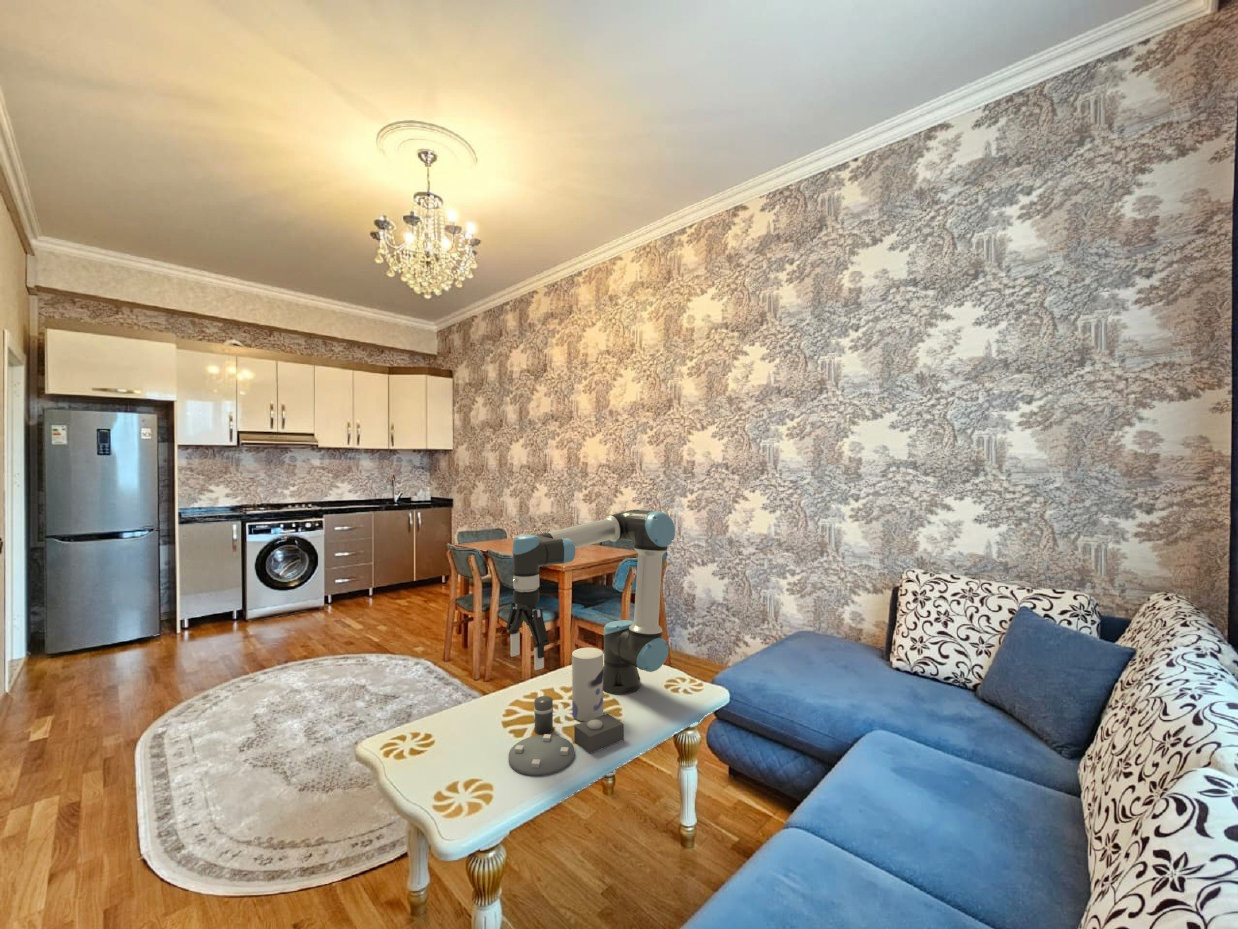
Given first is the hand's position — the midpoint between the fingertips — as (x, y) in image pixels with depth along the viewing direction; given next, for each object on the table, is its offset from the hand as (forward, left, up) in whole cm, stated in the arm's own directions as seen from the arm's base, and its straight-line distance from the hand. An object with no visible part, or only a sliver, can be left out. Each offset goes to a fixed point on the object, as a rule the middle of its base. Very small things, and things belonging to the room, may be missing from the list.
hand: (526, 662), depth 148 cm
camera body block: (-16, +13, -24) cm, 32 cm away
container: (-23, -2, -24) cm, 33 cm away
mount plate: (+1, +9, -23) cm, 25 cm away
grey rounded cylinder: (-7, -3, -23) cm, 25 cm away
